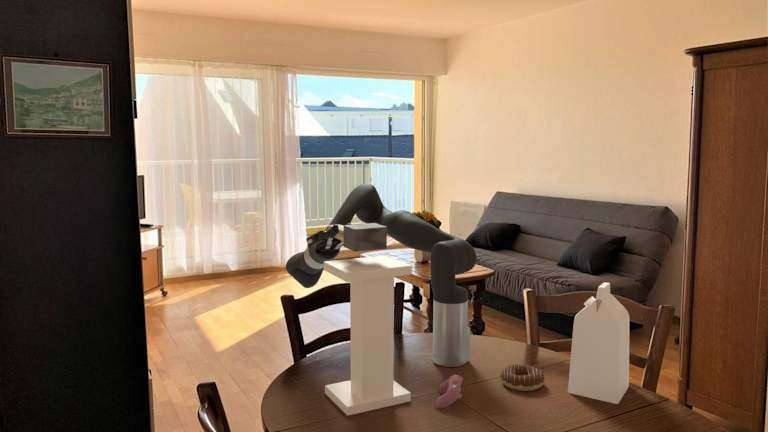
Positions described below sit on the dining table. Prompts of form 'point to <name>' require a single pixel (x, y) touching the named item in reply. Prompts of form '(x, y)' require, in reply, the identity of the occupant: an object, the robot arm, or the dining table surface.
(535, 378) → the donut
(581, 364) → the milk
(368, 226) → the grey and beige blocks
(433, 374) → the dining table surface
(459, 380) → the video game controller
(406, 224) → the robot arm
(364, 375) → the stand
